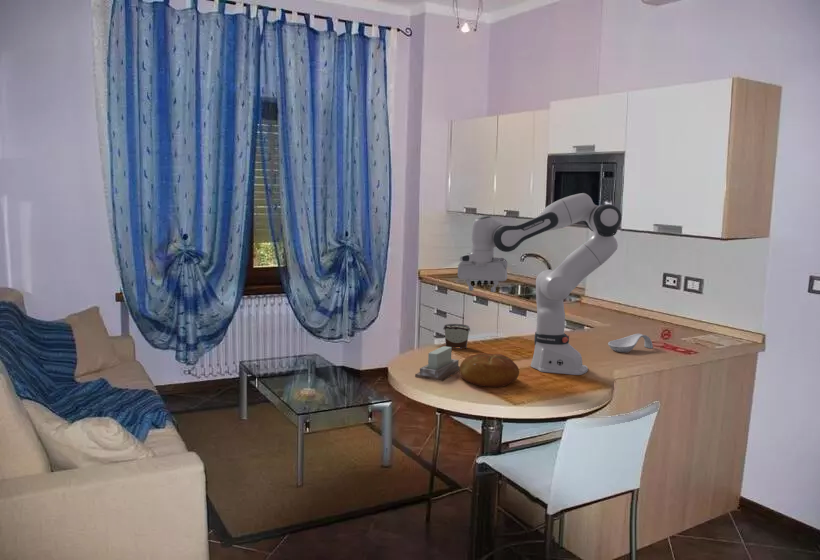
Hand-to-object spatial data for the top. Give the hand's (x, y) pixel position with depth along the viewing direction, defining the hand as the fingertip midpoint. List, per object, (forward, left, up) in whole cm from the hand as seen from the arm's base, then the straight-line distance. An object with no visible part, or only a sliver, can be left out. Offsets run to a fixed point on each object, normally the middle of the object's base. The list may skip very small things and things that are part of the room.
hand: (482, 291), depth 272 cm
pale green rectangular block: (+8, +23, -29) cm, 37 cm away
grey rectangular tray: (+8, +23, -30) cm, 38 cm away
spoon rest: (-50, -62, -30) cm, 85 cm away
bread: (-12, +22, -30) cm, 40 cm away
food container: (+20, -24, -30) cm, 44 cm away
